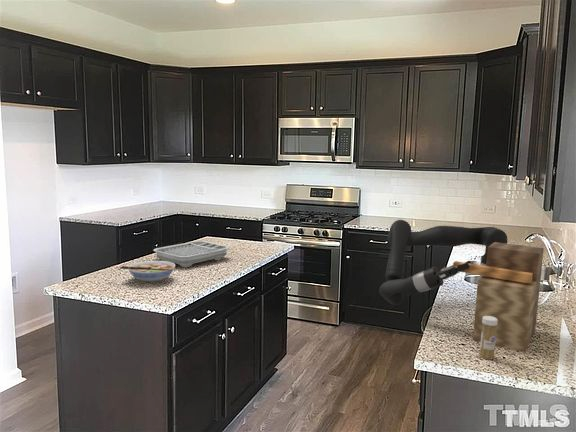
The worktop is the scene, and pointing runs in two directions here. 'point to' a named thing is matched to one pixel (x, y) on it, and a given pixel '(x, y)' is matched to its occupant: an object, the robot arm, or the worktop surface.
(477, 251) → the worktop surface
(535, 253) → the box
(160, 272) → the ramen bowl
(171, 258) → the dish rack
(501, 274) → the dowel
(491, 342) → the sprinkles bottle
